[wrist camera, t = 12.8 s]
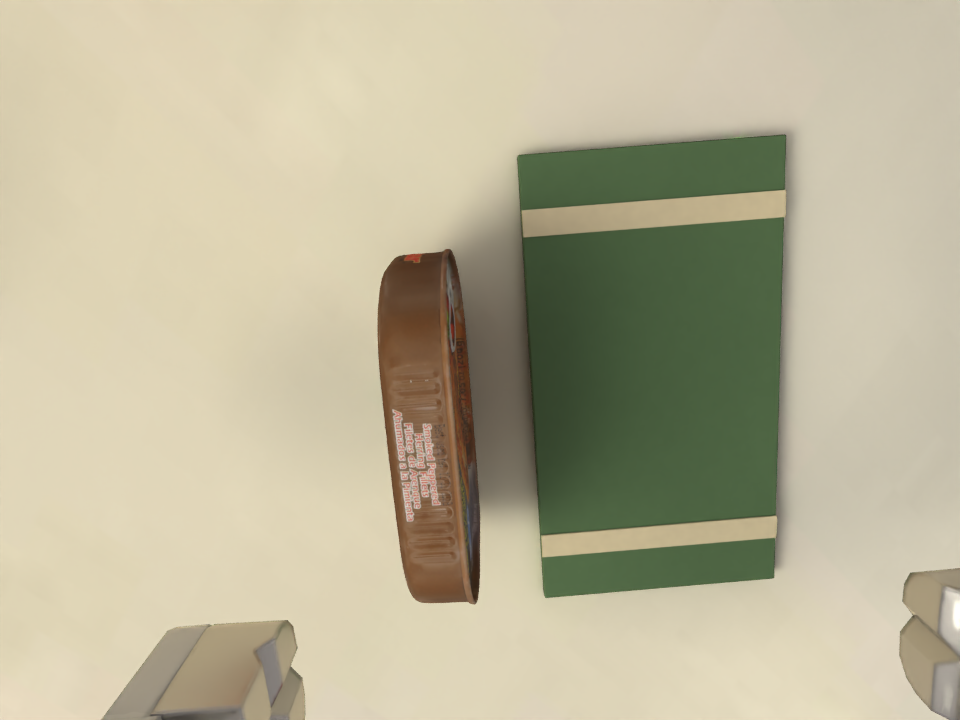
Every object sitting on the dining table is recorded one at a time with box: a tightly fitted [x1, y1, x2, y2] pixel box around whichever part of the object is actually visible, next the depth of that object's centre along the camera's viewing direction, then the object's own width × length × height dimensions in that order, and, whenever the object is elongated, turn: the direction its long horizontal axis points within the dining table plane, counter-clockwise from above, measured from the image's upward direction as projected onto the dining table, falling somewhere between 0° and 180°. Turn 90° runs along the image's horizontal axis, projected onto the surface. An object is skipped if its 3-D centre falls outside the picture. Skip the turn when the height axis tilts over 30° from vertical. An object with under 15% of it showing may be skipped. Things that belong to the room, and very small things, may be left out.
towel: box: [517, 135, 786, 598], centre depth 30 cm, size 12×22×1 cm, turn 4°
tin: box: [378, 249, 480, 604], centre depth 26 cm, size 15×3×8 cm, turn 4°
